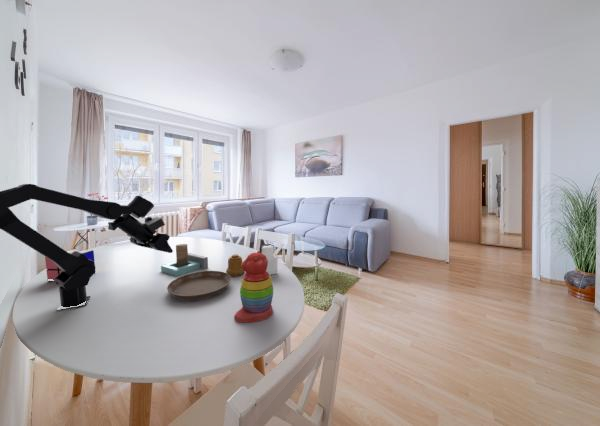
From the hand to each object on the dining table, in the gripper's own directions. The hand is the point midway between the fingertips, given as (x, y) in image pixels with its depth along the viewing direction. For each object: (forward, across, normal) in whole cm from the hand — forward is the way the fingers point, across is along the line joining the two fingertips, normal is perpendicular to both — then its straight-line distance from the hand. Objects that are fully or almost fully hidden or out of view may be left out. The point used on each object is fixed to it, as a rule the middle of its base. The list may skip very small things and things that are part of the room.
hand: (165, 250), depth 94 cm
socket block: (+12, 0, +3) cm, 12 cm away
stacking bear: (+5, -52, +10) cm, 53 cm away
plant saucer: (+6, -24, +9) cm, 27 cm away
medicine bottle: (+24, -34, -9) cm, 43 cm away
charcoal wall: (+16, 0, -2) cm, 17 cm away
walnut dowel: (+12, 0, +2) cm, 13 cm away
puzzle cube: (-7, +30, +22) cm, 38 cm away
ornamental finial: (+19, -24, -4) cm, 30 cm away
